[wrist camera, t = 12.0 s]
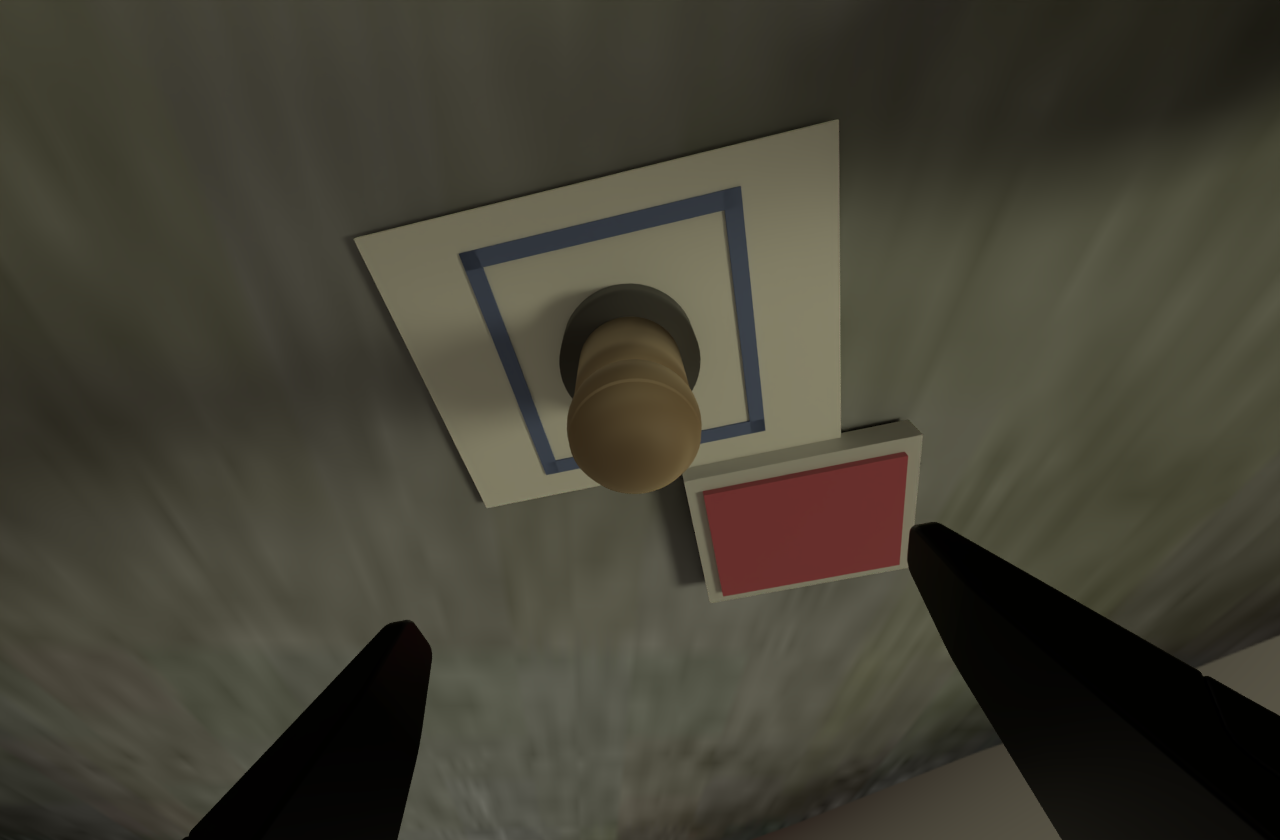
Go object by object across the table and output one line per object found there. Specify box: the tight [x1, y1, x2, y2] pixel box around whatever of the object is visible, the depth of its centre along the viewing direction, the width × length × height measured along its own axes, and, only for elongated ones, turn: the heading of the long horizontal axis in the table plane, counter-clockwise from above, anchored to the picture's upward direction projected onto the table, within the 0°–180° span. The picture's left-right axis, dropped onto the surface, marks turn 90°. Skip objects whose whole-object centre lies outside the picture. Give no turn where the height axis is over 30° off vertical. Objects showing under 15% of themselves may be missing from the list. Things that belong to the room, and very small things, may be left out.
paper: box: [354, 119, 841, 508], centre depth 19 cm, size 16×12×1 cm
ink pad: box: [682, 420, 923, 603], centre depth 23 cm, size 10×8×2 cm
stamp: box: [559, 283, 702, 494], centre depth 16 cm, size 5×5×8 cm
